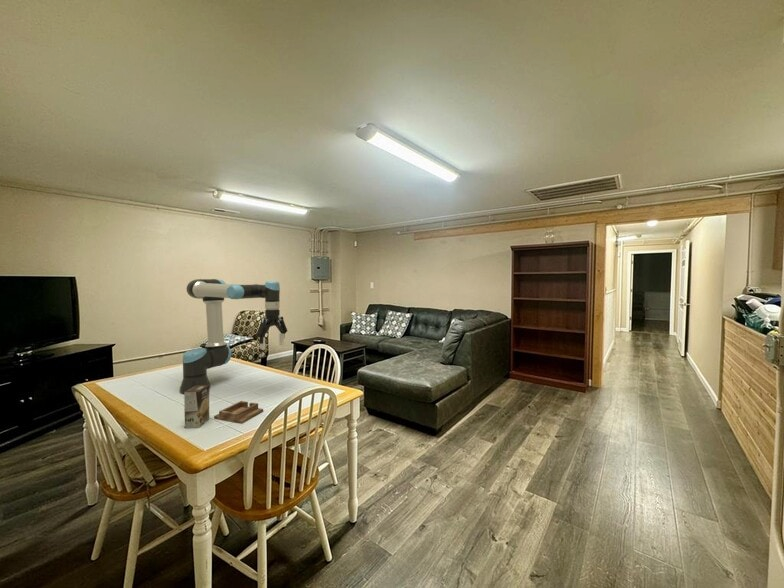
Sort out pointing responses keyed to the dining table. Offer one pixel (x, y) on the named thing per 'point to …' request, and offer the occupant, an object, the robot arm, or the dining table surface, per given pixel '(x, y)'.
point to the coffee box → (196, 406)
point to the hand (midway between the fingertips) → (272, 347)
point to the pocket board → (239, 412)
